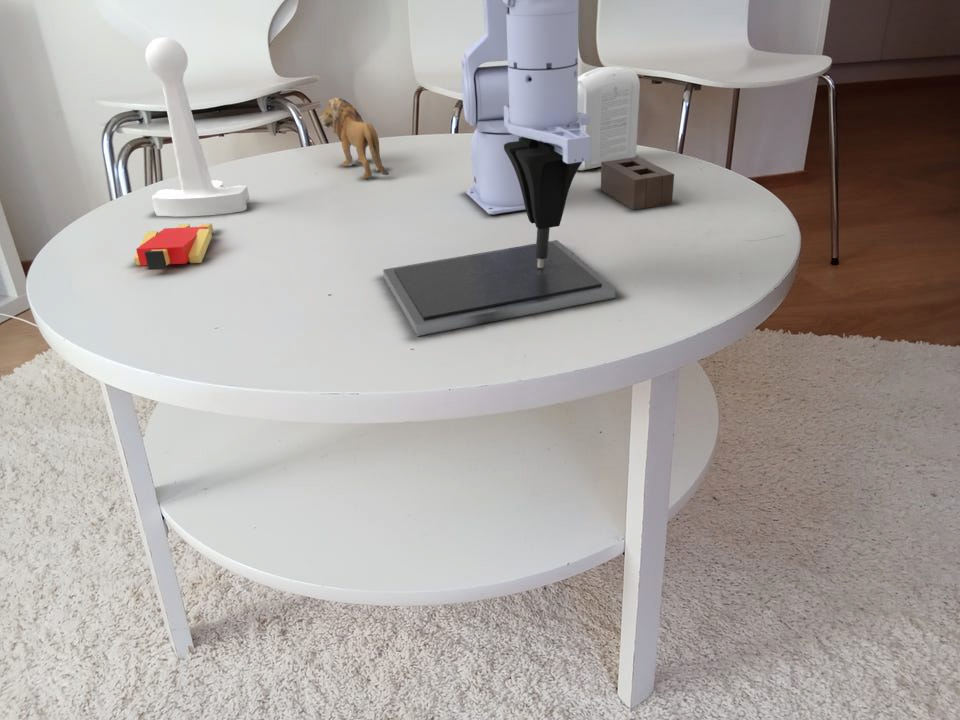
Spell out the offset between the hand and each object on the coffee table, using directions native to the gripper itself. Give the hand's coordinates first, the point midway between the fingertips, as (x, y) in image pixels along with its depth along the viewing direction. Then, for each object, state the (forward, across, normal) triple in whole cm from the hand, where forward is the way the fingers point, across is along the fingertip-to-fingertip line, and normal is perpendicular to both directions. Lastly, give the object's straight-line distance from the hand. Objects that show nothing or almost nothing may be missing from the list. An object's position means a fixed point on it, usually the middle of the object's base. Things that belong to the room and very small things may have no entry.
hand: (544, 223), depth 70 cm
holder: (+5, +18, -19) cm, 27 cm away
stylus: (+4, 0, 0) cm, 4 cm away
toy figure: (+6, +23, +33) cm, 41 cm away
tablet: (+5, 0, +5) cm, 7 cm away
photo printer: (+6, +33, -22) cm, 40 cm away
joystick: (+6, +39, +30) cm, 50 cm away
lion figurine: (+6, +47, +9) cm, 48 cm away
